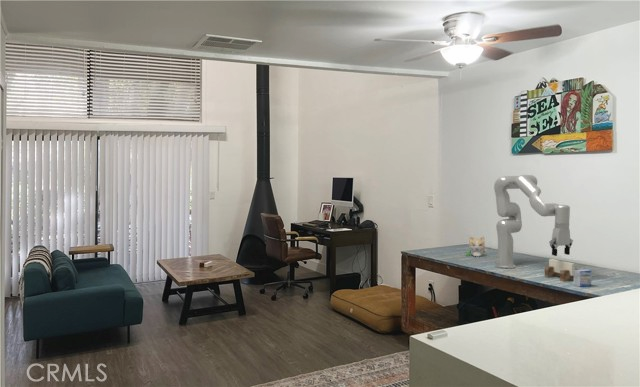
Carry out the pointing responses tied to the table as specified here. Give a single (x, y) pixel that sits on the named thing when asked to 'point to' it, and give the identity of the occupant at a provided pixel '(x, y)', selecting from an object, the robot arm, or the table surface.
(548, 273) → the walnut rail
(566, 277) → the walnut rail
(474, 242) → the kitten
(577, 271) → the medicine box
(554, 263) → the cream rectangular block
